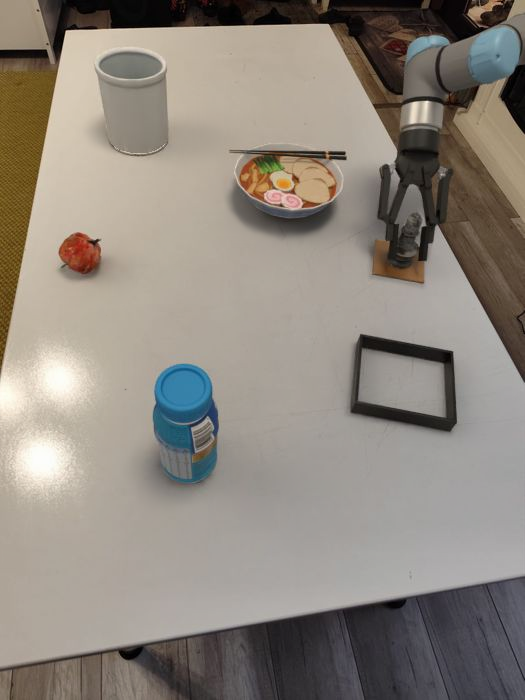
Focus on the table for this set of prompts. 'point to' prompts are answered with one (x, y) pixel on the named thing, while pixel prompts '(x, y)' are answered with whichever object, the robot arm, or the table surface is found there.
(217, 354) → the table surface
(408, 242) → the grey chess piece
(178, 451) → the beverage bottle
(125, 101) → the utensil holder
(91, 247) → the pomegranate
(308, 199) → the ramen bowl
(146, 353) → the table surface
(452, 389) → the open square frame
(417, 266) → the cork mat
